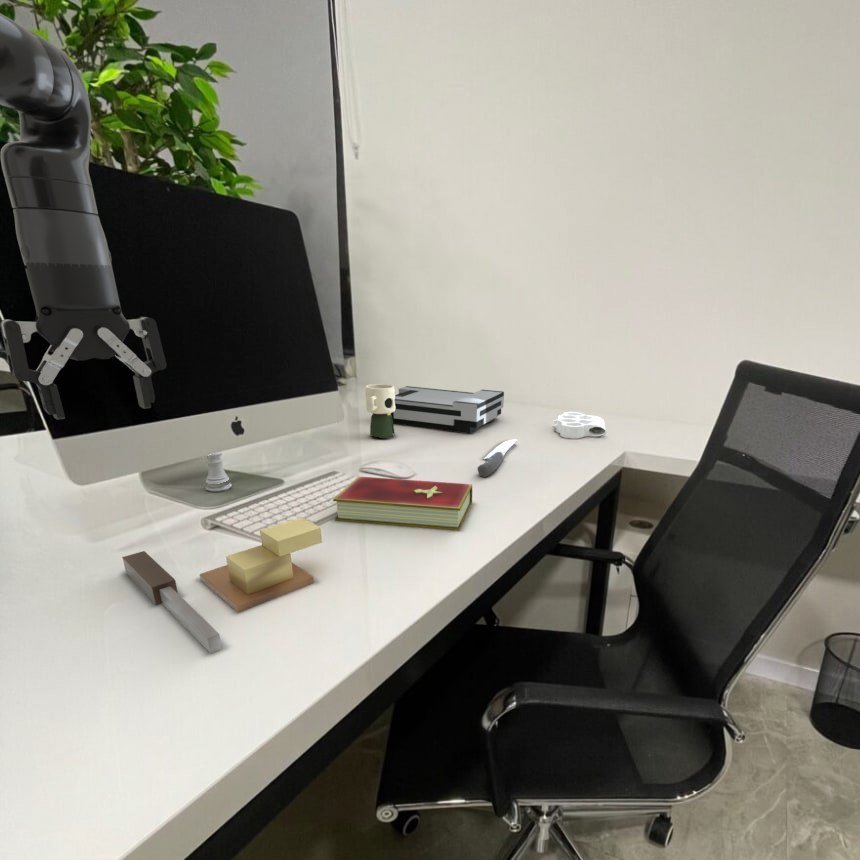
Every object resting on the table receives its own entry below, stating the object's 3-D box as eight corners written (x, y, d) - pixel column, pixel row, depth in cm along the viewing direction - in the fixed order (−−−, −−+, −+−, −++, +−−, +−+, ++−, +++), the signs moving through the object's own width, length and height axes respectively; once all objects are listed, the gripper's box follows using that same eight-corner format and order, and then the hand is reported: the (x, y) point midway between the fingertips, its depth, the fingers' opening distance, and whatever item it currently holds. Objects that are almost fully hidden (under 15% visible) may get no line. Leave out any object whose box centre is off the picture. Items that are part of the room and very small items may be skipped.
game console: (407, 408, 174) (406, 382, 171) (503, 419, 164) (504, 391, 161) (371, 422, 155) (370, 393, 152) (476, 435, 145) (476, 404, 142)
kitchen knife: (499, 437, 140) (518, 433, 139) (501, 447, 141) (520, 443, 140) (466, 469, 114) (488, 464, 112) (469, 480, 114) (492, 476, 113)
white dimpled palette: (605, 441, 144) (549, 437, 146) (603, 425, 161) (552, 421, 162) (606, 428, 143) (550, 424, 145) (604, 413, 160) (553, 410, 161)
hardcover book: (360, 495, 102) (359, 474, 101) (472, 503, 100) (472, 482, 99) (335, 521, 91) (332, 497, 90) (459, 530, 89) (459, 506, 87)
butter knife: (203, 657, 58) (199, 636, 57) (126, 574, 73) (122, 556, 72) (228, 646, 60) (225, 626, 59) (148, 567, 75) (144, 550, 74)
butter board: (238, 613, 65) (232, 580, 64) (200, 580, 72) (194, 549, 71) (314, 583, 72) (311, 552, 71) (273, 555, 79) (269, 527, 78)
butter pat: (279, 557, 69) (277, 541, 69) (261, 545, 72) (259, 529, 72) (322, 542, 74) (320, 527, 73) (303, 531, 77) (301, 517, 76)
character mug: (386, 443, 135) (384, 390, 131) (360, 441, 137) (356, 388, 132) (403, 433, 145) (402, 383, 140) (378, 431, 147) (376, 381, 142)
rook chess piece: (203, 487, 104) (195, 446, 101) (228, 483, 106) (222, 443, 103) (209, 494, 100) (202, 452, 97) (235, 489, 103) (229, 448, 100)
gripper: (133, 264, 65) (159, 400, 71) (-28, 257, 55) (19, 416, 61) (155, 264, 61) (182, 409, 67) (-15, 256, 51) (34, 428, 57)
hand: (104, 412), depth 64 cm, fingers open, 8 cm apart
